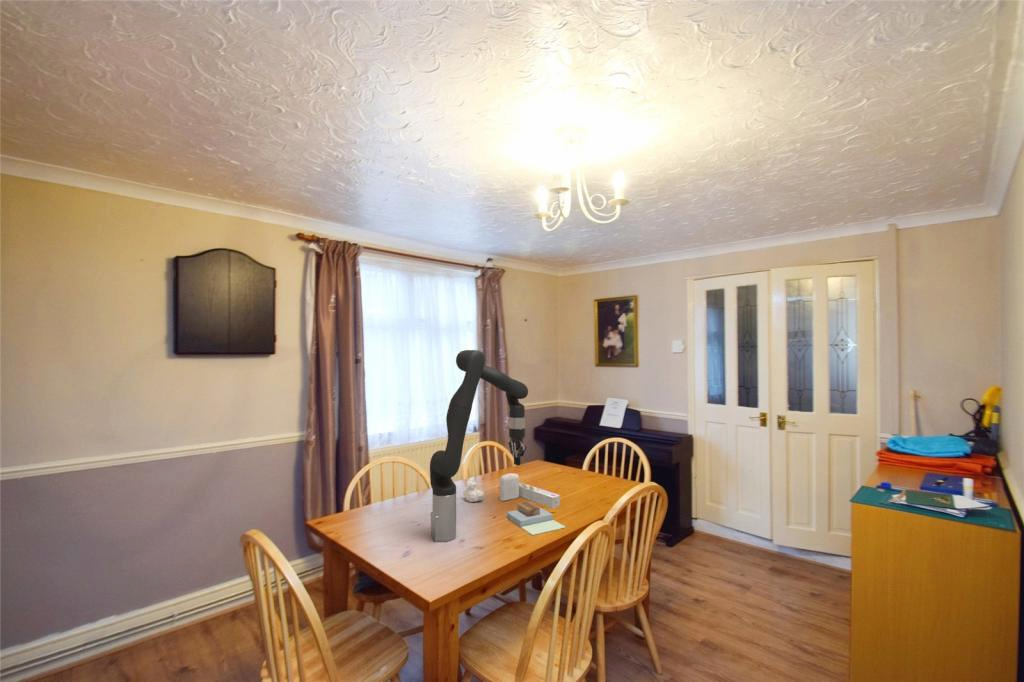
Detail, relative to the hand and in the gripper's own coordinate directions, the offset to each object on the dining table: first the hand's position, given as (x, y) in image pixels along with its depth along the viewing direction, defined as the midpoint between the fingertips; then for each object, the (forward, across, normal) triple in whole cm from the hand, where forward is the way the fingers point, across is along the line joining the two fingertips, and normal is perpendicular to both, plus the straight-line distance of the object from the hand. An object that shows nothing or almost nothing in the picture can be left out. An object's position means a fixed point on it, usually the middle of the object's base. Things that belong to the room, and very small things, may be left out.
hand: (517, 464), depth 201 cm
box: (+22, -9, +16) cm, 28 cm away
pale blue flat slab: (+21, +11, 0) cm, 24 cm away
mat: (+21, +22, 0) cm, 30 cm away
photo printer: (+21, -17, +5) cm, 28 cm away
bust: (+21, -23, -12) cm, 33 cm away
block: (+19, +10, 0) cm, 21 cm away
